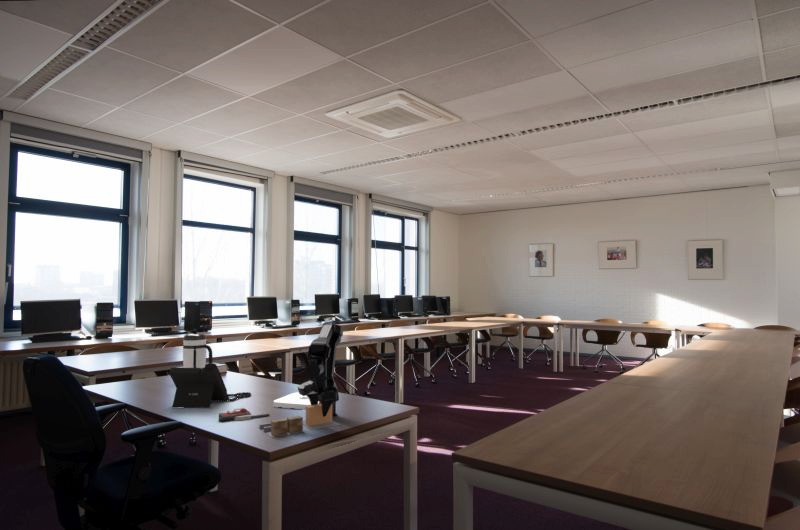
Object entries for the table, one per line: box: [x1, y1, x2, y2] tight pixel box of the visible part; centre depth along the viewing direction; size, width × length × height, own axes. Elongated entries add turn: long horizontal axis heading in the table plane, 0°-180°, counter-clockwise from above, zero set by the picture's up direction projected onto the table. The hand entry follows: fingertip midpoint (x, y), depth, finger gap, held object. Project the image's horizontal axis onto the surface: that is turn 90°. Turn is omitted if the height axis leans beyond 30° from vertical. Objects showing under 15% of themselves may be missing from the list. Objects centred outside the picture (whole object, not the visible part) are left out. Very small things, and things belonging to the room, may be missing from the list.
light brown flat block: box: [305, 404, 333, 426], centre depth 193 cm, size 10×3×7 cm, turn 124°
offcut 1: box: [270, 417, 288, 437], centre depth 179 cm, size 5×3×5 cm, turn 125°
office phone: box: [168, 362, 252, 409], centre depth 235 cm, size 29×28×20 cm
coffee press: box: [182, 328, 213, 369], centre depth 285 cm, size 17×16×30 cm
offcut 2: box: [286, 415, 304, 434], centre depth 182 cm, size 5×3×5 cm, turn 125°
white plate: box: [273, 391, 319, 410], centre depth 229 cm, size 22×22×3 cm
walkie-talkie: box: [218, 407, 271, 423], centre depth 202 cm, size 9×4×20 cm
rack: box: [258, 422, 306, 438], centre depth 185 cm, size 13×15×2 cm
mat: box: [303, 419, 341, 431], centre depth 193 cm, size 12×13×1 cm
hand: (319, 414), depth 193 cm, fingers open, 9 cm apart
